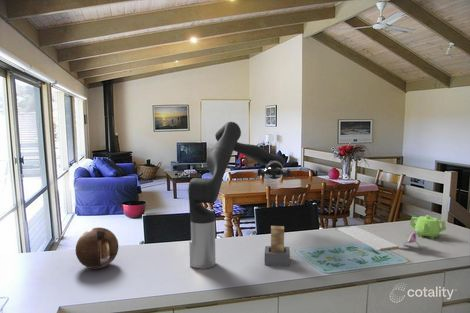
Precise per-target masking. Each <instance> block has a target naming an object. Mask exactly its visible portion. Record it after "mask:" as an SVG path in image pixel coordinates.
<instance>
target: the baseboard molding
mask: <svg viewBox="0 0 470 313" xmlns="http://www.w3.org/2000/svg"><path fill="white" fill-rule="evenodd" d="M336 231H339V232H341V233H342V234H344V235H347V236H348V237H350V238H352V239H354V240H356V241H358V242H359V243H362V244H364V245H366V246H367V247H369V246H370V248H371V247H372V249H373V248H374V249H373V250H375V249H376V250H375V251H377V250H378V251H377V252H379V250H381V251H387V250H394V249H395V250H396V249H399V248H400V246H399V245H397V244H395V243H393V242H390V241H388V240H386V239H384V238H382V237H380V236H378V235H375V234H374V233H371V232H369V231H367V230H365V229H362V228H360V227H358V226H356V225H349V226H348V224H346V223H345V224H344V226H338V225H337V227H336Z"/></svg>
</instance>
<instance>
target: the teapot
mask: <svg viewBox="0 0 470 313" xmlns="http://www.w3.org/2000/svg"><path fill="white" fill-rule="evenodd" d="M440 224H441V225H440ZM409 225H410V226H411V227H412V228H414V232H415V231H417V230H418V229H419V228H420V227H421V228H420V229H419V230H418V231H417V233H416V235H418V237H420V238H423V237H424V236H425V237H429V239H432V240H435V237H436V238H437V237H438V236H439V234H440V233H441V232H443V231H446V229H447V228H446V227H447V226H446V221H445V220H439V219H438V218H436V217H432V216H431V215H428V214H426V215H425V216H422V215H421V216H419V217H416V216H411V219H410V222H409ZM440 226H441V227H440Z"/></svg>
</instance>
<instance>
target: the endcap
mask: <svg viewBox="0 0 470 313" xmlns="http://www.w3.org/2000/svg"><path fill="white" fill-rule="evenodd" d="M290 251H291V250H290V246H284V253H282V252H271V245H265V246H264V266H277V267H279V266H280V267H290V266H291V265H290V264H291V262H290V261H291V260H290V259H291V254H290V253H291V252H290Z"/></svg>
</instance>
